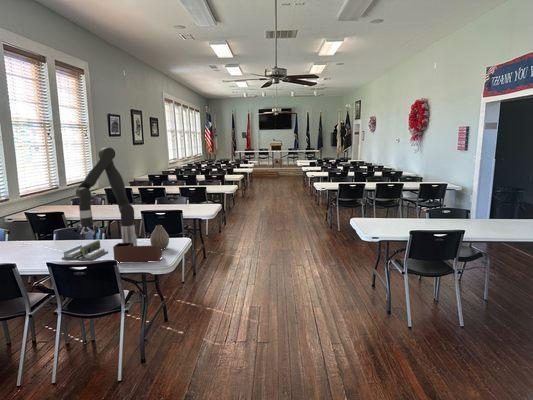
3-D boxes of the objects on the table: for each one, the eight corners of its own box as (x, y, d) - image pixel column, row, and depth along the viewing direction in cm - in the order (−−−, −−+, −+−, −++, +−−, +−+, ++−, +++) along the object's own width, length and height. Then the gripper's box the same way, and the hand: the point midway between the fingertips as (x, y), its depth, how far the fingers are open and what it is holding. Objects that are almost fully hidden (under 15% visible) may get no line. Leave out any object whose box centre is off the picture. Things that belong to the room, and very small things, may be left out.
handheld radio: (101, 249, 261) (79, 259, 236) (97, 249, 261) (74, 259, 237) (100, 240, 260) (77, 250, 235) (96, 240, 260) (73, 250, 236)
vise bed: (108, 252, 256) (107, 247, 255) (92, 260, 238) (91, 255, 238) (79, 251, 260) (79, 246, 259) (61, 259, 242) (61, 254, 242)
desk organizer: (119, 258, 242) (117, 242, 240) (163, 257, 244) (162, 241, 242) (113, 263, 232) (111, 247, 230) (159, 262, 233) (158, 245, 231)
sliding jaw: (87, 250, 257) (86, 245, 257) (72, 257, 242) (71, 251, 241) (79, 250, 258) (79, 244, 258) (64, 257, 243) (63, 251, 242)
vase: (158, 252, 253) (156, 228, 250) (147, 249, 261) (145, 226, 258) (173, 248, 263) (171, 225, 261) (162, 245, 271) (160, 223, 269)
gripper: (99, 215, 246) (101, 238, 249) (80, 215, 249) (83, 238, 251) (92, 217, 239) (95, 241, 242) (73, 217, 241) (76, 241, 244)
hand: (89, 239), depth 247 cm, fingers open, 8 cm apart
